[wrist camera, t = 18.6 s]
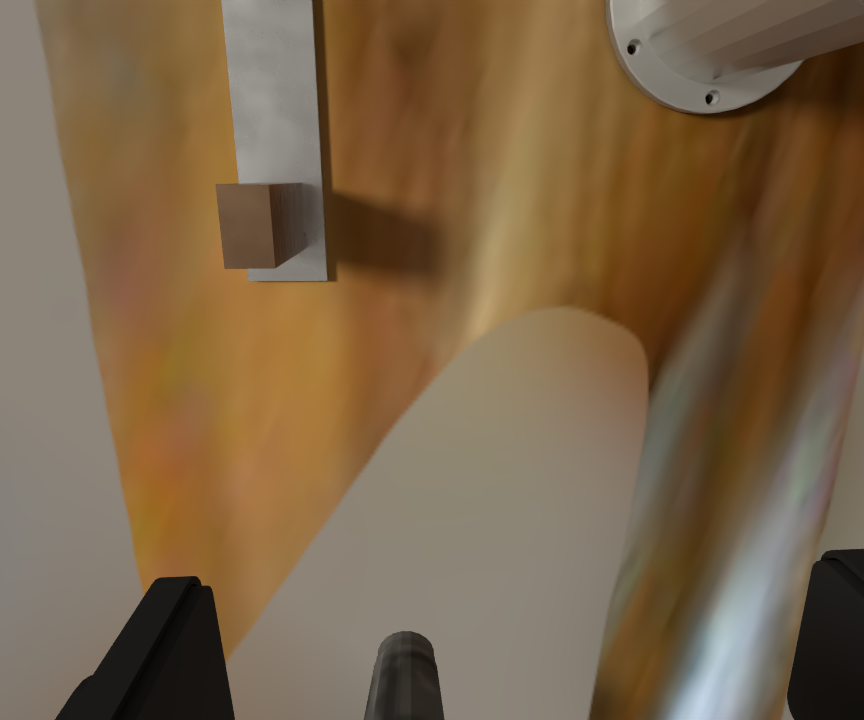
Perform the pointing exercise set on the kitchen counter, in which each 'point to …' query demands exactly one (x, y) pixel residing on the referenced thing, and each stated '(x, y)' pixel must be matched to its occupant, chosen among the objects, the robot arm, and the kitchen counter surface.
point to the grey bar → (274, 143)
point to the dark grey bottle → (405, 680)
